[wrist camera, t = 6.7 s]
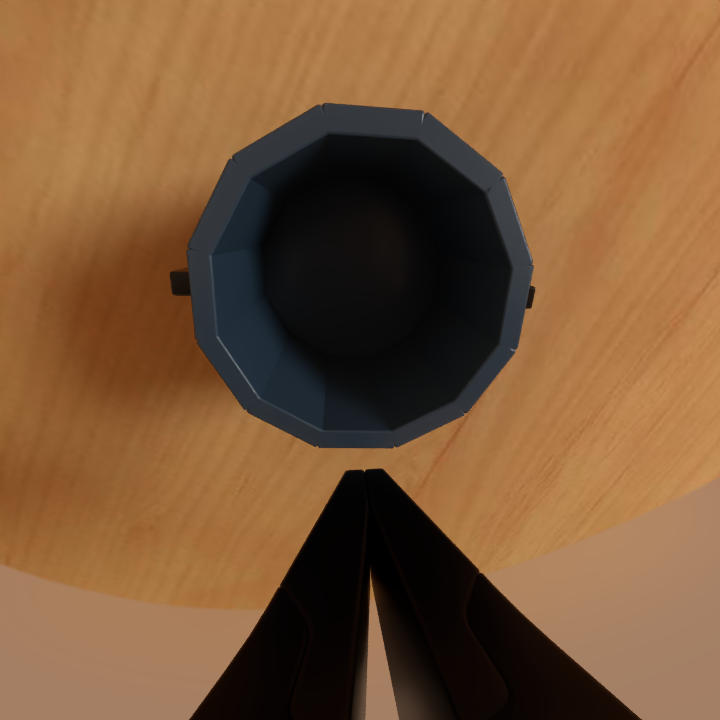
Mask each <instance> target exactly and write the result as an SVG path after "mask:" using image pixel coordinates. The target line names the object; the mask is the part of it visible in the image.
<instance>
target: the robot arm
mask: <svg viewBox="0 0 720 720" xmlns="http://www.w3.org/2000/svg"><path fill="white" fill-rule="evenodd" d="M370 572H371V580H372V586H373V591H374V596H375V601H376V606H377V611H378V616H379V621H380V626H381V631H382V636H383V641H384V646H385V651H386V656H387V661H388V666H389V671H390V675H391V681H392V686H393V691H394V696H395V701H396V706H397V711H398V716H399V720H642V719H640V718H639V717H638V716H637V715H636V714H635V713H633V712H632V711H631V710H630V709H629V708H628V707H627V706H625V705H624V704H623V703H622V702H621V701H620V700H619V699H618V698H616V697H615V696H614V695H613V694H612V693H611V692H609V691H608V690H607V689H606V688H605V687H604V686H603V685H601V684H600V683H599V682H598V681H597V680H596V679H595V678H594V677H592V676H591V675H590V674H589V673H588V672H587V671H586V670H584V669H583V668H582V667H581V666H580V665H579V664H578V663H576V662H575V661H574V660H573V659H572V658H571V657H570V656H568V655H567V654H566V653H565V652H564V651H563V650H562V649H560V648H559V647H558V646H557V645H556V644H555V643H554V642H553V641H551V640H550V639H549V638H548V637H547V636H546V635H545V634H544V633H543V632H542V631H540V630H539V629H538V628H537V627H536V626H535V625H534V624H533V623H532V622H530V620H528V619H527V618H526V617H525V616H524V615H523V614H522V613H521V612H520V611H519V610H518V609H517V608H516V607H515V606H514V605H513V604H512V603H511V602H510V601H509V600H508V599H507V598H506V597H505V596H504V595H503V594H501V592H500V591H499V590H498V589H497V588H496V587H495V586H494V585H493V584H492V583H491V582H490V581H489V580H488V579H487V578H486V577H485V576H484V574H482V573H479V570H478V568H477V567H476V566H475V565H474V564H473V563H472V562H471V561H470V560H469V559H468V558H467V557H466V556H465V555H464V554H463V553H462V552H461V550H460V549H459V548H458V547H457V546H456V545H455V544H454V543H453V542H452V541H451V540H450V539H449V538H448V537H447V536H446V535H445V534H444V533H443V532H442V530H441V529H440V528H439V527H438V526H437V525H436V524H435V523H434V522H433V521H432V520H431V519H430V518H429V517H428V516H427V515H426V514H425V513H424V512H423V510H422V509H421V508H420V507H419V506H418V505H417V504H416V503H415V502H414V501H413V500H412V499H411V498H410V497H409V496H408V495H407V494H406V493H405V492H404V490H403V489H402V488H401V487H400V486H399V485H398V484H397V483H396V482H395V481H394V480H393V479H392V478H391V477H390V476H389V475H388V474H387V473H386V472H385V470H383V469H367V470H365V473H364V471H363V470H347V471H346V472H345V473H344V474H343V476H342V478H341V480H340V481H339V483H338V485H337V487H336V488H335V490H334V492H333V494H332V495H331V497H330V499H329V501H328V502H327V504H326V506H325V508H324V509H323V511H322V513H321V515H320V516H319V518H318V520H317V521H316V523H315V525H314V527H313V528H312V530H311V532H310V534H309V535H308V537H307V539H306V541H305V542H304V544H303V546H302V548H301V549H300V551H299V553H298V555H297V556H296V558H295V560H294V561H293V563H292V565H291V567H290V568H289V570H288V572H287V574H286V575H285V577H284V579H283V581H282V582H281V584H280V587H279V588H278V589H277V591H276V592H275V594H274V596H273V598H272V599H271V601H270V603H269V605H268V606H267V608H266V610H265V611H264V613H263V614H262V616H261V618H260V619H259V621H258V623H257V624H256V626H255V627H254V629H253V631H252V632H251V634H250V636H249V637H248V638H247V640H246V641H245V643H244V644H243V646H242V647H241V648H240V650H239V651H238V653H237V654H236V656H235V657H234V659H233V660H232V662H231V663H230V664H229V666H228V667H227V669H226V670H225V671H224V673H223V674H222V676H221V677H220V678H219V680H218V681H217V682H216V684H215V685H214V687H213V688H212V689H211V691H210V692H209V693H208V695H207V696H206V697H205V699H204V700H203V702H202V703H201V704H200V706H199V707H198V709H197V710H196V711H195V713H194V714H193V716H192V717H191V718H190V719H189V720H365V711H366V709H365V708H366V683H367V656H368V629H369V628H368V627H369V602H370Z"/></svg>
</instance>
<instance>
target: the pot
mask: <svg viewBox="0 0 720 720" xmlns="http://www.w3.org/2000/svg"><path fill="white" fill-rule="evenodd" d="M232 158H233V159H229V160H228V162H227V164H226V166H225V168H224V170H223V172H222V174H221V176H220V178H219V180H218V182H217V185H216V187H215V189H214V191H213V193H212V195H211V197H210V199H209V201H208V203H207V205H206V207H205V209H204V211H203V214H202V216H201V218H200V220H199V222H198V224H197V226H196V228H195V230H194V232H193V234H192V236H191V238H190V240H189V243H188V248H189V249H187V262H188V268H184V269H179V270H175V271H172V272H170V280H171V288H172V294H173V295H176V296H191V301H192V311H193V321H194V331H195V339H196V340H198V341H197V344H198V345H199V347H200V348H201V350H202V351H203V352H204V354H205V355H206V357H207V358H208V359H209V361H210V362H211V364H212V365H213V367H214V368H215V369H216V371H217V372H218V374H219V375H220V376H221V378H222V379H223V381H224V382H225V383H226V385H227V386H228V388H229V389H230V390H231V392H232V393H233V395H234V396H235V398H236V399H237V400H238V402H239V403H240V405H241V406H242V407H243V409H244V410H247V412H248V413H249V414H251V415H253V416H255V417H257V418H259V419H261V420H263V421H265V422H267V423H269V424H271V425H273V426H275V427H277V428H279V429H281V430H283V431H285V432H287V433H289V434H291V435H293V436H295V437H297V438H299V439H301V440H303V441H305V442H307V443H309V444H311V445H313V446H315V447H316V446H318V447H319V448H394V446H395V447H399V446H401V445H403V444H405V443H407V442H409V441H412V440H414V439H416V438H418V437H420V436H422V435H424V434H426V433H428V432H430V431H432V430H435V429H437V428H439V427H441V426H443V425H445V424H447V423H449V422H451V421H453V420H456V419H458V418H460V417H462V416H464V413H467V412H468V411H469V410H470V409H471V408H472V406H473V405H474V404H475V403H476V401H477V400H478V399H479V398H480V396H481V395H482V394H483V392H484V391H485V390H486V389H487V387H488V386H489V385H490V384H491V382H492V381H493V380H494V379H495V377H496V376H497V375H498V374H499V372H500V371H501V370H502V369H503V367H504V366H505V365H506V364H507V362H508V361H509V360H510V358H511V357H512V356H513V355H514V353H515V352H516V351H515V349H517V348H518V344H519V339H520V334H521V329H522V324H523V318H524V313H525V309H529V308H531V307H532V303H533V298H534V293H535V287H534V286H530V283H531V278H532V273H533V268H534V267H533V265H531V264H532V263H533V260H532V257H531V254H530V251H529V248H528V245H527V242H526V239H525V236H524V233H523V230H522V227H521V224H520V221H519V218H518V215H517V212H516V209H515V206H514V203H513V200H512V197H511V194H510V191H509V188H508V185H507V182H506V179H505V177H502V175H503V173H502V172H501V171H500V170H498V169H497V168H496V167H495V166H493V165H492V164H491V163H490V162H489V161H487V160H486V159H485V158H484V157H482V156H481V155H480V154H479V153H478V152H476V151H475V150H474V149H473V148H471V147H470V146H469V145H468V144H466V143H465V142H464V141H463V140H462V139H460V138H459V137H458V136H457V135H455V134H454V133H453V132H452V131H451V130H449V129H448V128H447V127H446V126H444V125H443V124H442V123H441V122H440V121H438V120H437V119H436V118H435V117H433V116H432V115H431V114H430V113H424V111H422V110H410V109H397V108H384V107H372V106H359V105H346V104H333V103H324V104H323V105H322V106H321V105H316V106H314V107H313V108H311V109H309V110H308V111H306V112H304V113H303V114H301V115H299V116H298V117H296V118H294V119H292V120H291V121H289V122H287V123H286V124H284V125H282V126H281V127H279V128H277V129H276V130H274V131H272V132H270V133H269V134H267V135H265V136H264V137H262V138H260V139H259V140H257V141H255V142H254V143H252V144H250V145H248V146H247V147H245V148H243V149H242V150H240V151H238V152H237V153H235V154H233V156H232Z"/></svg>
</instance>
